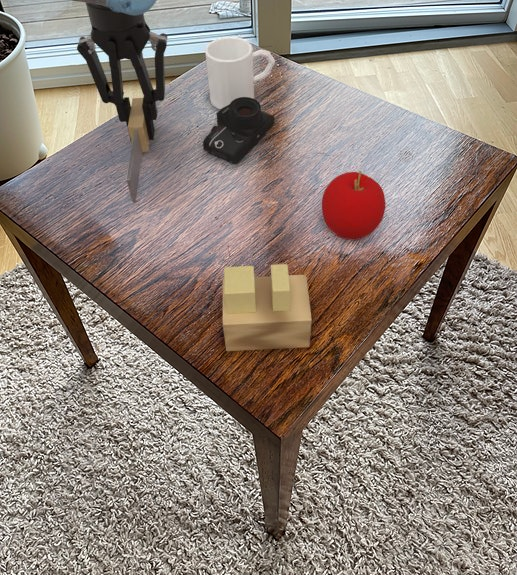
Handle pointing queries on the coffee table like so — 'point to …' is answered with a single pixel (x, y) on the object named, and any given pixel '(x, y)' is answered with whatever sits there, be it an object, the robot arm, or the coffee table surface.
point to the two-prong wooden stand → (270, 319)
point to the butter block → (239, 289)
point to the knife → (136, 144)
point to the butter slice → (280, 287)
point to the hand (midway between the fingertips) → (142, 135)
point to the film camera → (238, 129)
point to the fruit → (353, 205)
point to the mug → (233, 69)
